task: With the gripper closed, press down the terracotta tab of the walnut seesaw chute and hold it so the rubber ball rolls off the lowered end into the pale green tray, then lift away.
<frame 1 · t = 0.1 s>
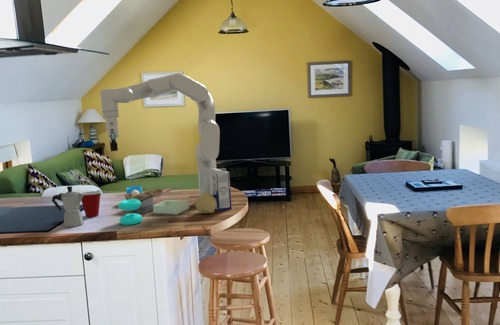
hand: (114, 149, 245), 31 cm above the table, tool pointing down, fingers open, 9 cm apart
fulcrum: (146, 209, 251), on the table
tray: (171, 211, 245), on the table
chute: (149, 192, 254), point 8 cm above the table, hinge at 12.0°, touching ball
donuts: (131, 223, 229), on the table
yellow rounded lump: (207, 213, 237), on the table
plastic cup: (92, 216, 245), on the table
ball: (135, 193, 252), point 8 cm above the table, tilted 15°, touching chute
mug: (137, 202, 270), on the table
coffee maker: (71, 225, 230), on the table
milk carton: (222, 208, 244), on the table
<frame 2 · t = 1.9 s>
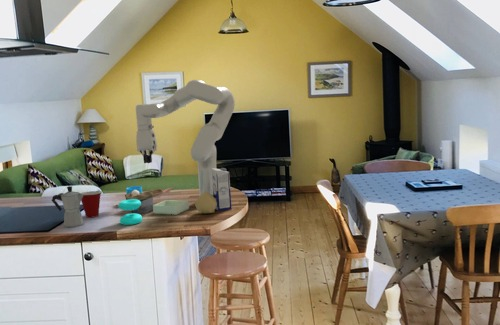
hand: (148, 162, 266), 21 cm above the table, tool pointing down, fingers closed
nothing on the table moved.
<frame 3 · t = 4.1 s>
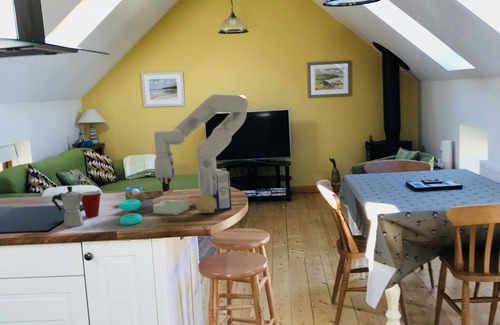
hand: (166, 190, 257), 8 cm above the table, tool pointing down, fingers closed
chute: (149, 192, 254), point 8 cm above the table, hinge at 5.0°, touching ball, gripper
ball: (135, 192, 252), point 9 cm above the table, tilted 7°, touching chute
everything else where it was.
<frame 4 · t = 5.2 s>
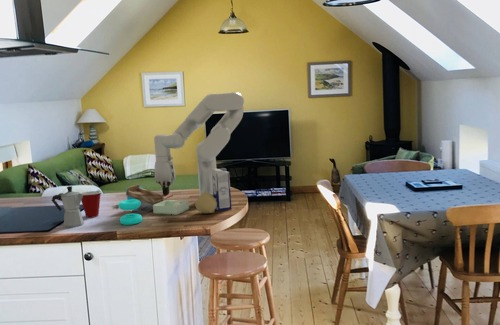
hand: (166, 194, 257), 6 cm above the table, tool pointing down, fingers closed
chute: (150, 192, 254), point 8 cm above the table, hinge at -15.3°, touching gripper
ball: (177, 206, 243), point 3 cm above the table, tilted 21°, touching tray
everything else where it was.
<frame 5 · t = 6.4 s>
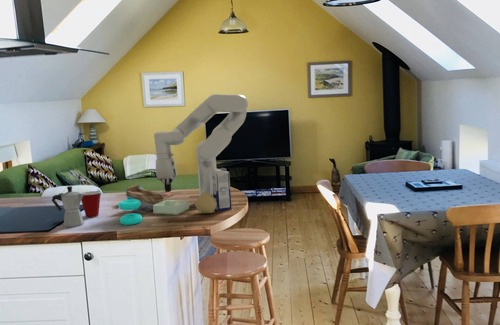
hand: (168, 191, 257), 7 cm above the table, tool pointing down, fingers closed
chute: (150, 192, 254), point 8 cm above the table, hinge at -14.0°
ball: (178, 206, 243), point 3 cm above the table, tilted 28°, touching tray
everything else where it was.
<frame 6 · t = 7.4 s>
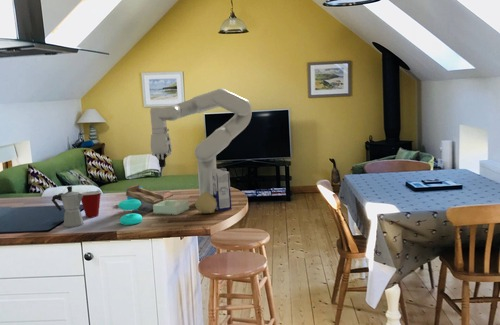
hand: (162, 166, 258), 20 cm above the table, tool pointing down, fingers closed
nothing on the table moved.
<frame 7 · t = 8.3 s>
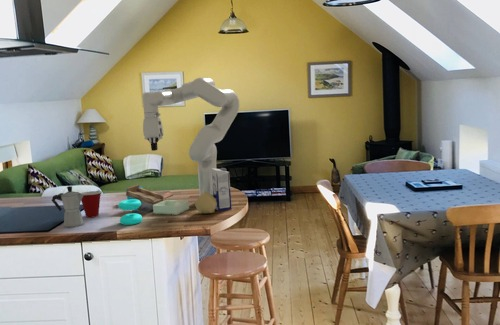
hand: (154, 150, 267), 27 cm above the table, tool pointing down, fingers closed
nothing on the table moved.
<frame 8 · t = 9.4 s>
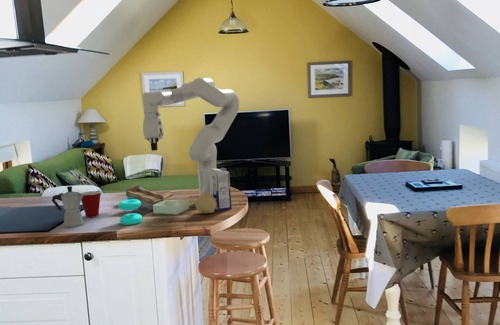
hand: (154, 150, 267), 27 cm above the table, tool pointing down, fingers closed
nothing on the table moved.
at the end: ball inside the target area on the tray (3.8 cm from its centre), point 2.6 cm above the tray's base; ball moved 24.7 cm from its start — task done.
